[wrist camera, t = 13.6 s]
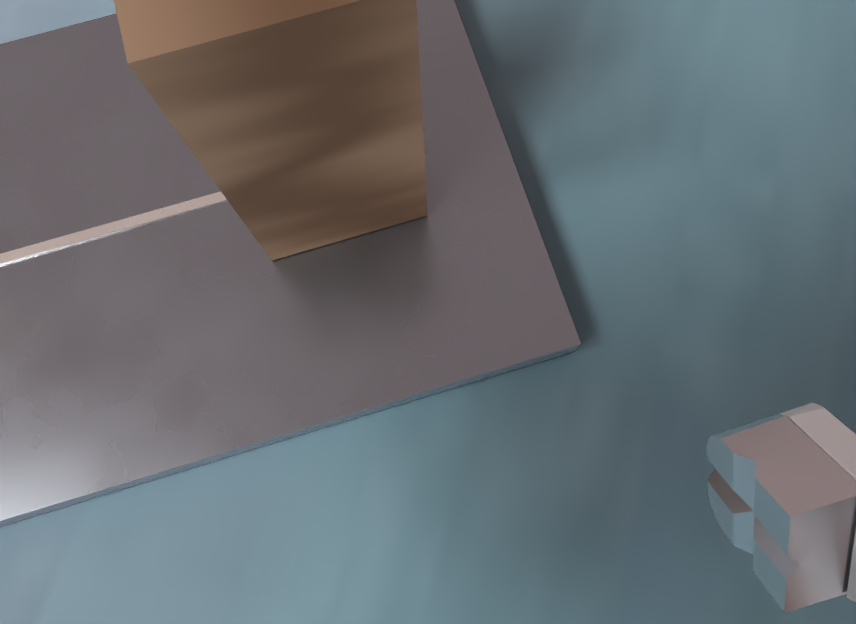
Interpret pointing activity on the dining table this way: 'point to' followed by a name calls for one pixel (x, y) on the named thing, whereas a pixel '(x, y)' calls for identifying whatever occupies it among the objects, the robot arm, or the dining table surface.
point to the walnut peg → (291, 108)
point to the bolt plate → (233, 279)
